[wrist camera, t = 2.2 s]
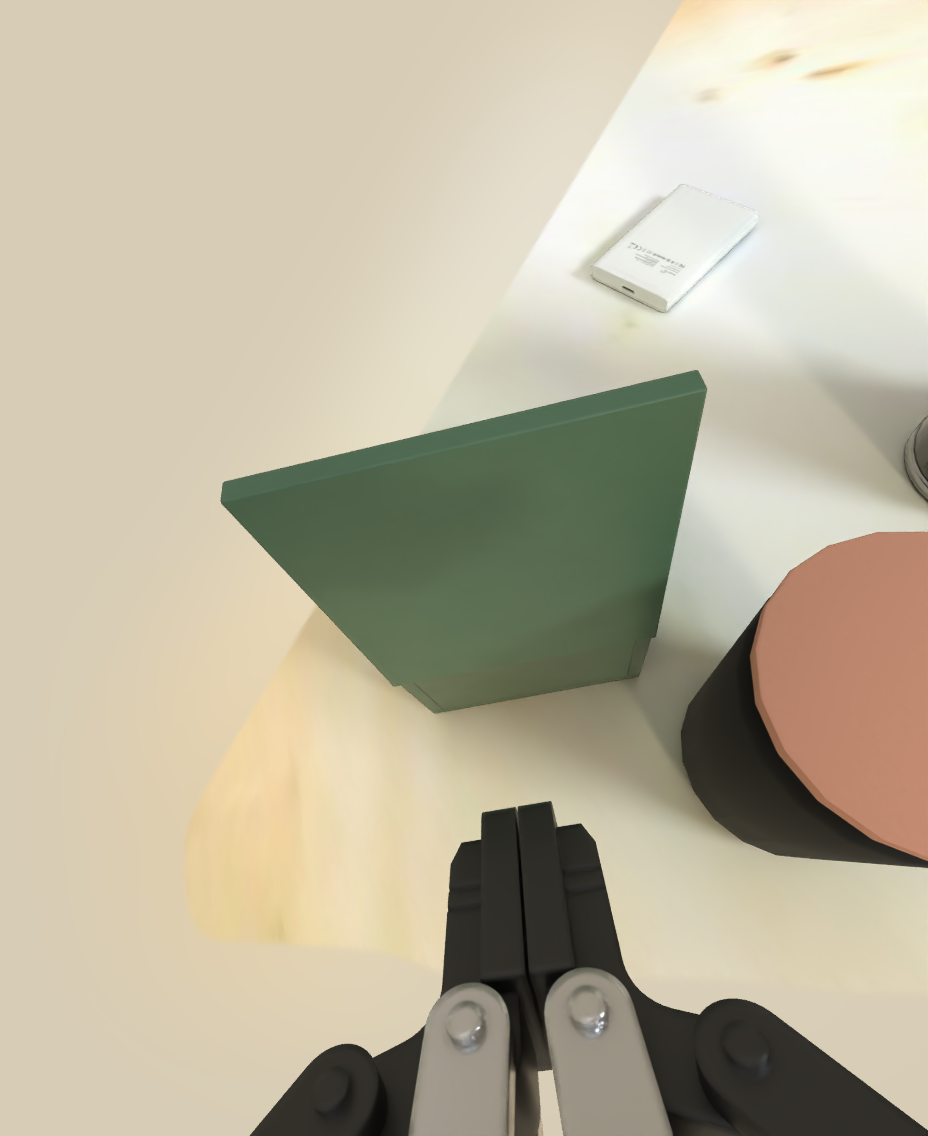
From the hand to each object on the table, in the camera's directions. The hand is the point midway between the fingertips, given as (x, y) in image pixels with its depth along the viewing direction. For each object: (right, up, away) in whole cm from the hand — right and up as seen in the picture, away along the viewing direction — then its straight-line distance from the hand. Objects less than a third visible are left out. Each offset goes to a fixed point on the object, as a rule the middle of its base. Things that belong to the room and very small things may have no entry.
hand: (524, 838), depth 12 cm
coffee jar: (+17, -5, +22) cm, 28 cm away
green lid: (0, +6, +11) cm, 12 cm away
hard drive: (+17, +34, +40) cm, 55 cm away
